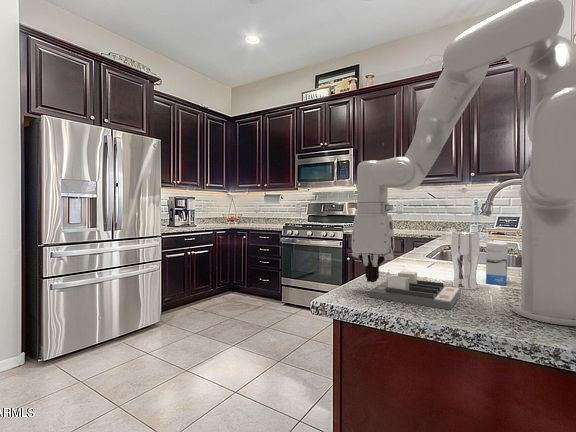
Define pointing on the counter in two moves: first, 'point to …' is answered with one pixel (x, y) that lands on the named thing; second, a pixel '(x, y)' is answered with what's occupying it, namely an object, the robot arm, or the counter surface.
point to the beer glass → (465, 259)
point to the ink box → (496, 262)
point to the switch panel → (419, 294)
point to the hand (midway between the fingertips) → (372, 281)
